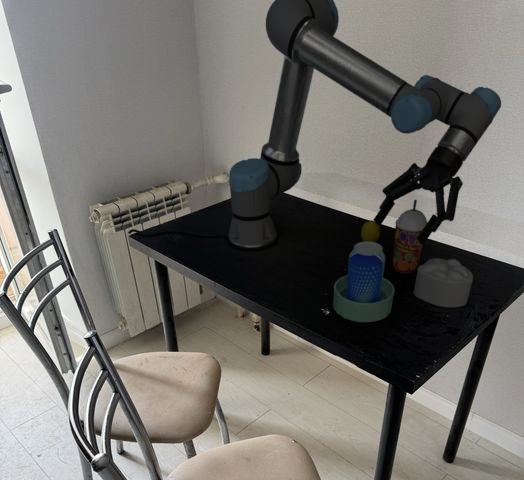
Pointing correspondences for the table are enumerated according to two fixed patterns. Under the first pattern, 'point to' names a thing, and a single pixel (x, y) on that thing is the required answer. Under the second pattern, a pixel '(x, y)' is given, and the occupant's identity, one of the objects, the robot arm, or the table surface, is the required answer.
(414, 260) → the smoothie
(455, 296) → the lumpy-topped squat cylinder
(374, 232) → the lemon
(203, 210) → the table surface
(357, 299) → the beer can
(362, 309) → the pale green round tub
